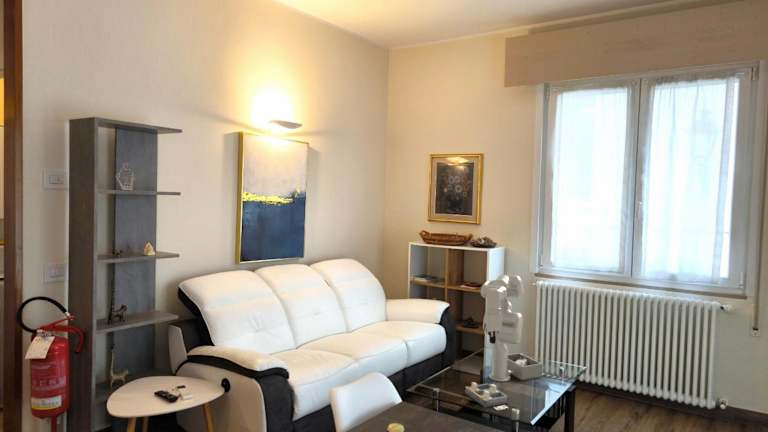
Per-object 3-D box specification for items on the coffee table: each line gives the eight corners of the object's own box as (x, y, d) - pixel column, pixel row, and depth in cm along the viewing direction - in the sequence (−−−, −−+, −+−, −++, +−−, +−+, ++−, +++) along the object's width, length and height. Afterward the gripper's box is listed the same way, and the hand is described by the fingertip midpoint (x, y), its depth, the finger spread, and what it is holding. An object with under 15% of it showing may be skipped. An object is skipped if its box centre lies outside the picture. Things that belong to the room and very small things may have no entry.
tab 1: (475, 390, 300) (475, 381, 300) (479, 392, 296) (479, 384, 296) (469, 391, 299) (469, 382, 298) (473, 394, 295) (473, 385, 295)
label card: (504, 405, 284) (504, 404, 284) (508, 408, 281) (508, 407, 281) (493, 407, 281) (493, 407, 281) (497, 410, 278) (497, 409, 278)
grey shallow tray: (487, 389, 306) (487, 382, 306) (508, 402, 287) (508, 396, 287) (465, 393, 300) (465, 386, 300) (484, 407, 282) (485, 400, 281)
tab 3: (494, 391, 298) (494, 383, 298) (498, 394, 294) (498, 385, 294) (488, 393, 297) (488, 384, 296) (492, 395, 293) (492, 387, 292)
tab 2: (487, 398, 289) (487, 389, 289) (491, 401, 285) (492, 392, 285) (481, 399, 288) (481, 390, 287) (485, 402, 284) (485, 393, 284)
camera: (523, 376, 325) (524, 360, 324) (511, 374, 329) (512, 358, 328) (531, 369, 337) (531, 353, 337) (519, 366, 341) (519, 351, 341)
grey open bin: (519, 364, 346) (520, 352, 345) (542, 376, 326) (542, 363, 325) (500, 367, 340) (500, 355, 340) (522, 380, 320) (522, 367, 319)
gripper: (500, 307, 303) (499, 339, 304) (478, 310, 297) (477, 342, 298) (508, 311, 296) (507, 343, 297) (485, 313, 290) (484, 346, 291)
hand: (492, 342), depth 298 cm, fingers closed
